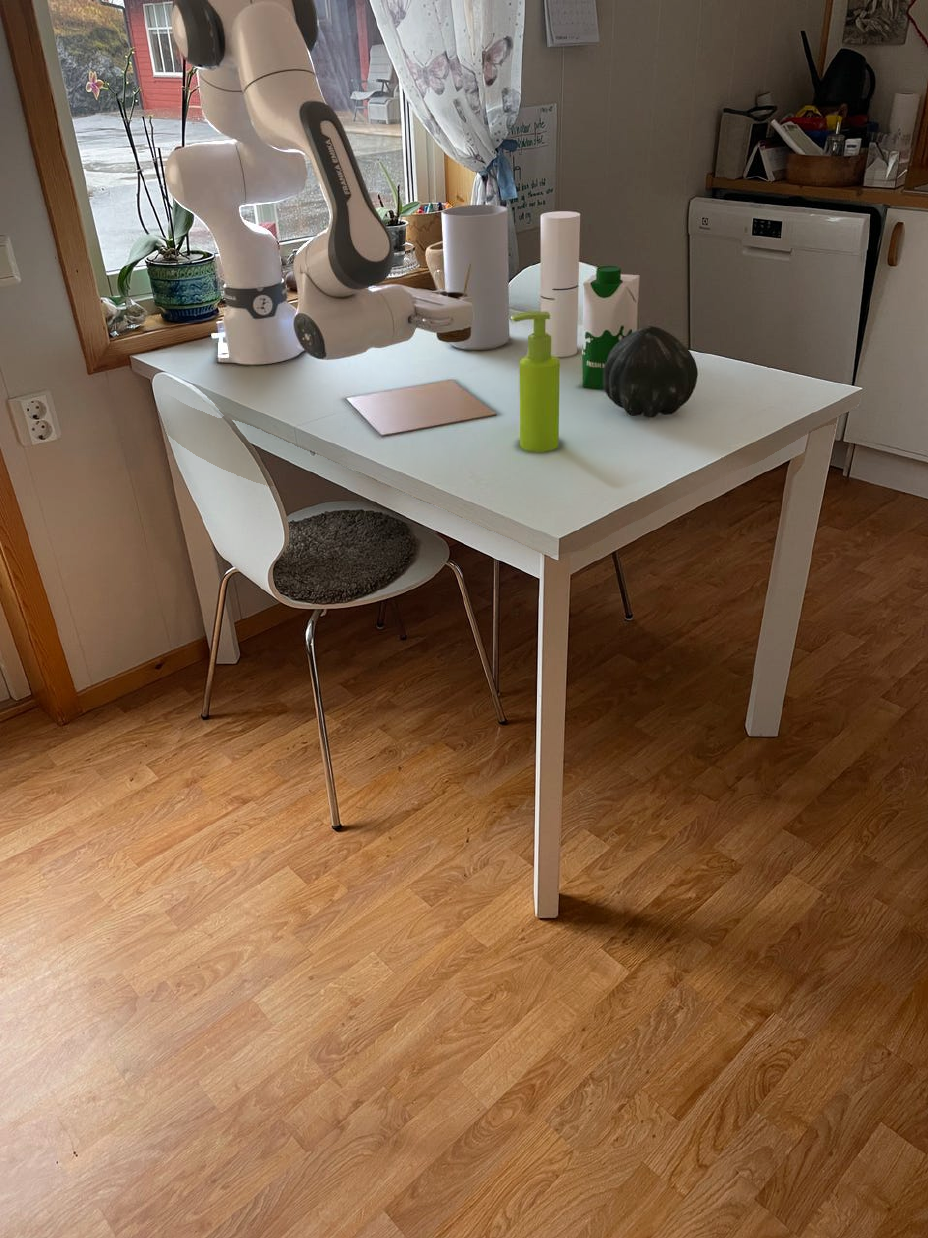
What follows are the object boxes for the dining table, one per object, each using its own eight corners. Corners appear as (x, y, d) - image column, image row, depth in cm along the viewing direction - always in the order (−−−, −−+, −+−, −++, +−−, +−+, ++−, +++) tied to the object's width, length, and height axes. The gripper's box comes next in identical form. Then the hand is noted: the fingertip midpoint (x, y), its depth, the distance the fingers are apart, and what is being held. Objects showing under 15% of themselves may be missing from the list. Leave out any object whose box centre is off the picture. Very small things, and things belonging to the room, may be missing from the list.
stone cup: (418, 309, 219) (413, 240, 211) (459, 299, 225) (456, 231, 217) (459, 321, 208) (456, 249, 200) (501, 311, 214) (499, 240, 207)
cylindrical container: (575, 357, 184) (578, 217, 170) (538, 356, 185) (538, 218, 172) (578, 346, 190) (582, 210, 176) (542, 345, 191) (543, 211, 178)
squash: (670, 354, 165) (627, 297, 155) (728, 381, 154) (685, 321, 144) (615, 419, 166) (569, 366, 156) (669, 450, 155) (622, 395, 145)
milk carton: (576, 388, 169) (578, 270, 158) (592, 372, 175) (595, 258, 165) (624, 393, 165) (630, 273, 155) (639, 377, 172) (645, 261, 161)
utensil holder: (439, 332, 164) (435, 259, 158) (475, 333, 164) (473, 259, 157) (433, 342, 160) (429, 267, 153) (470, 343, 159) (468, 267, 152)
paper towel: (346, 399, 169) (346, 398, 169) (451, 380, 175) (451, 379, 175) (381, 436, 153) (381, 435, 153) (496, 414, 159) (496, 413, 159)
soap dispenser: (511, 439, 150) (509, 309, 139) (555, 436, 150) (556, 306, 139) (516, 453, 145) (514, 319, 134) (561, 450, 145) (563, 316, 134)
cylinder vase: (520, 337, 196) (519, 206, 183) (489, 354, 188) (485, 217, 174) (469, 330, 202) (464, 203, 189) (436, 346, 194) (428, 213, 180)
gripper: (432, 305, 143) (499, 288, 150) (351, 284, 156) (417, 269, 164) (434, 347, 146) (500, 328, 154) (355, 323, 159) (419, 307, 167)
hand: (456, 298), depth 159 cm, fingers closed on utensil holder, 5 cm apart
